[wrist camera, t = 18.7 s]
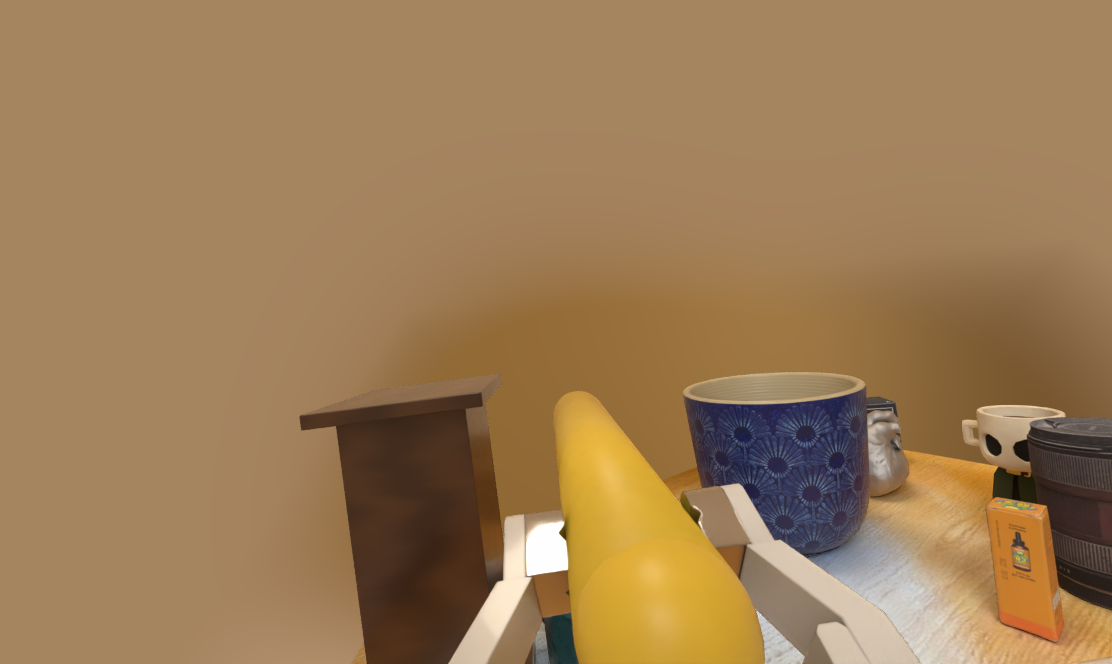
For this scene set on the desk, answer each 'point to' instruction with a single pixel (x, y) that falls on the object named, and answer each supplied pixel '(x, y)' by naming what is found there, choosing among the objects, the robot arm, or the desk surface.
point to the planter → (787, 450)
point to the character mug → (1008, 446)
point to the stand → (419, 513)
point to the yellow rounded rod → (640, 557)
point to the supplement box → (1025, 567)
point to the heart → (885, 453)
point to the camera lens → (1077, 500)
